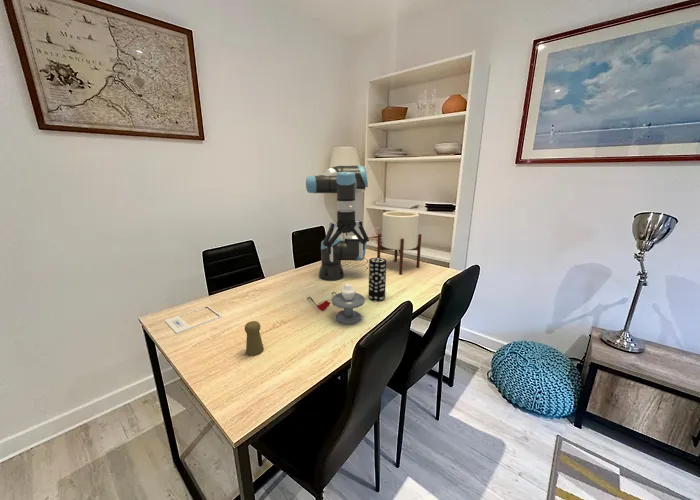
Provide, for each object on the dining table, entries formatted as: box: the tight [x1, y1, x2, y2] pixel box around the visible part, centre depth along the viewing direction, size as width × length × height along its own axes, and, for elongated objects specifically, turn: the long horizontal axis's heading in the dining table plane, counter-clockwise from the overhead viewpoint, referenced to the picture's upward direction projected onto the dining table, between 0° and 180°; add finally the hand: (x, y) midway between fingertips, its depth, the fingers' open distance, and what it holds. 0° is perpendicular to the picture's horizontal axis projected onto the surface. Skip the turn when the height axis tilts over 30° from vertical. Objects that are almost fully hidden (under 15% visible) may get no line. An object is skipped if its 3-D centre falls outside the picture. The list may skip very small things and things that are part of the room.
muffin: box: [340, 283, 356, 300], centre depth 120 cm, size 6×6×7 cm
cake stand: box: [331, 292, 366, 325], centre depth 122 cm, size 14×14×9 cm
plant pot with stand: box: [376, 210, 422, 276], centre depth 183 cm, size 22×22×36 cm
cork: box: [244, 320, 265, 357], centre depth 99 cm, size 6×6×11 cm
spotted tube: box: [368, 257, 387, 303], centre depth 140 cm, size 8×8×20 cm
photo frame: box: [164, 305, 223, 335], centre depth 122 cm, size 15×1×18 cm
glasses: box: [306, 291, 337, 312], centre depth 137 cm, size 14×16×5 cm
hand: (346, 259), depth 124 cm, fingers open, 13 cm apart
